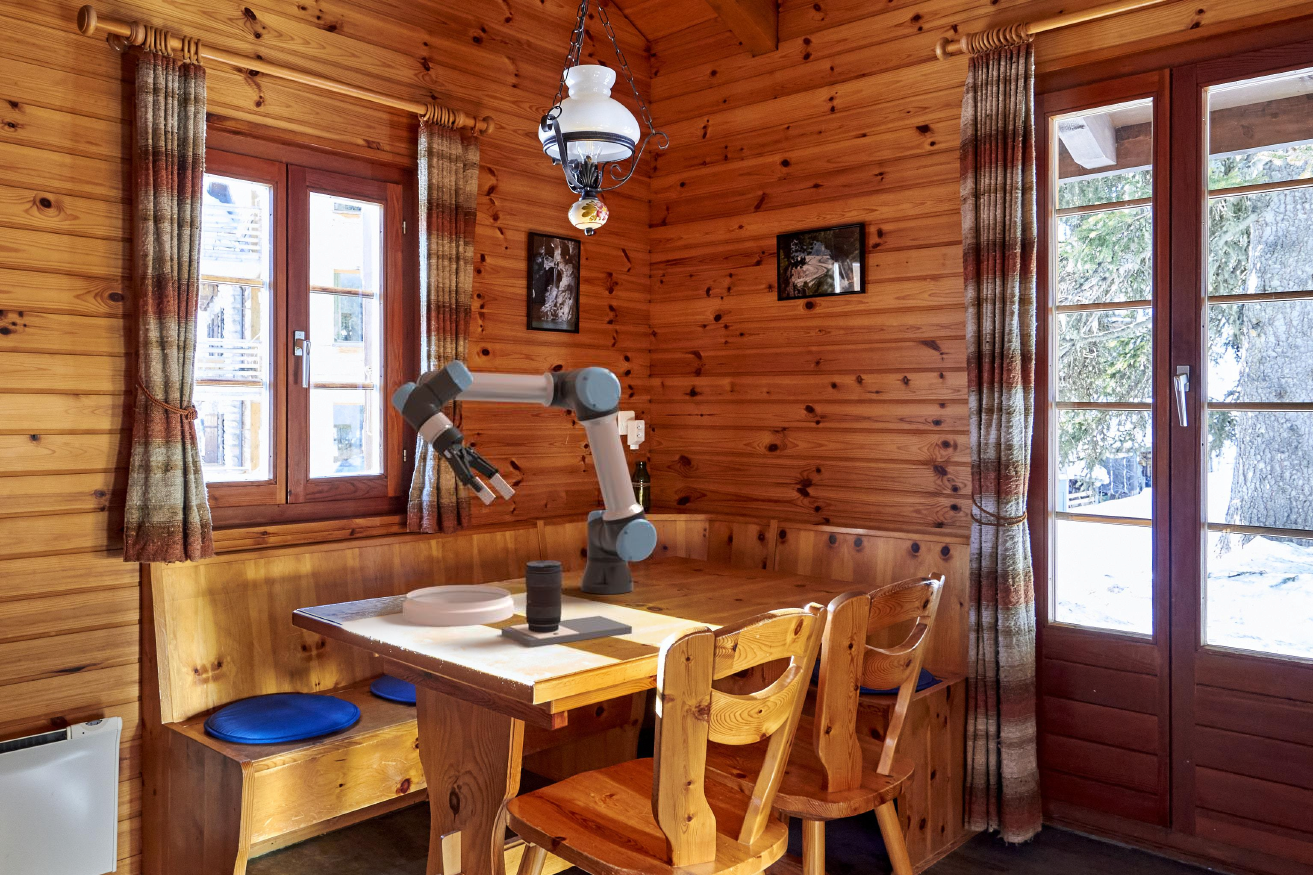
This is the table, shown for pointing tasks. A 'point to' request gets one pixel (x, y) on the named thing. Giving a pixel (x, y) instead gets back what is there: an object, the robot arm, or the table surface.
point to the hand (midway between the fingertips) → (501, 498)
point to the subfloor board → (568, 631)
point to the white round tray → (458, 605)
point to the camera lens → (543, 595)
